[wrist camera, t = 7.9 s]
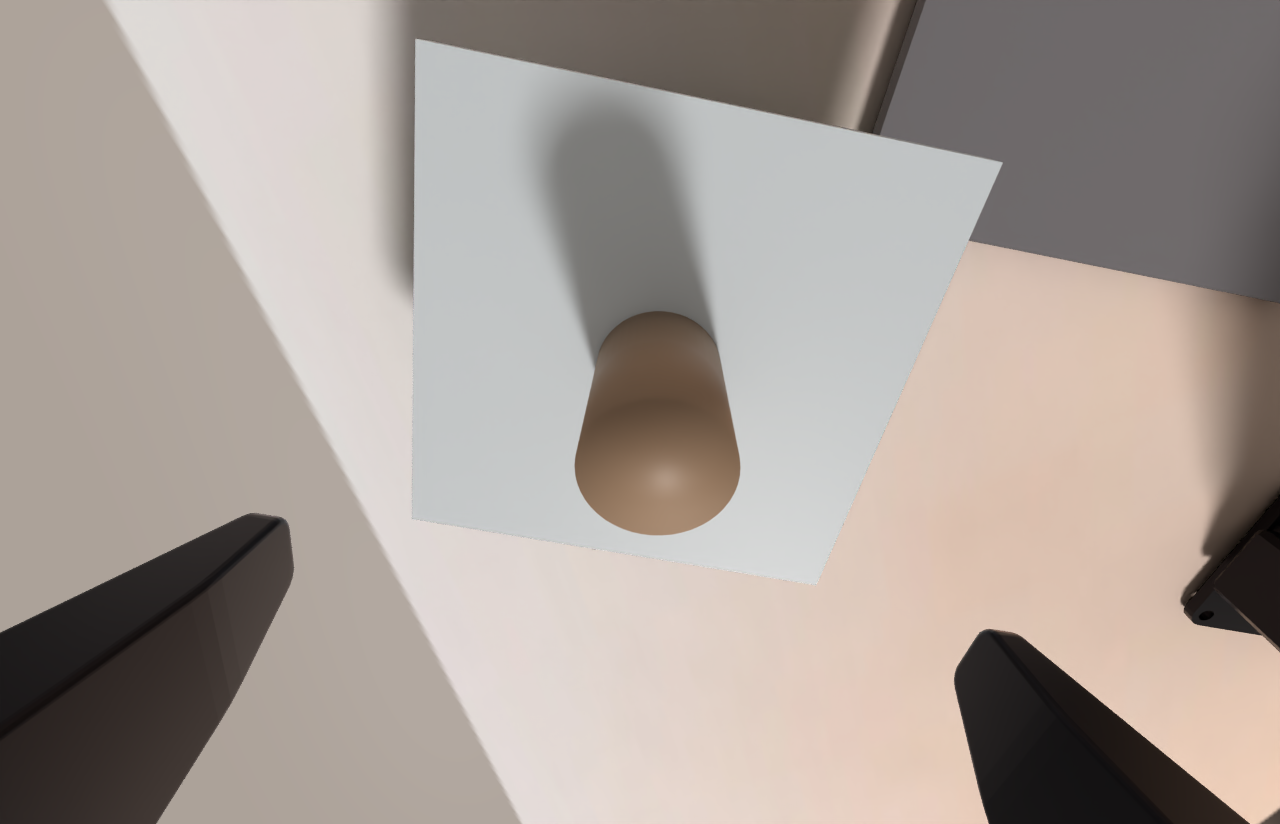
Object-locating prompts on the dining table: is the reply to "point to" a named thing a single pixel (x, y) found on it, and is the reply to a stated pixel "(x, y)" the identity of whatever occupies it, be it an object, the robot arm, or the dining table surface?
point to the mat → (1109, 129)
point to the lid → (662, 311)
